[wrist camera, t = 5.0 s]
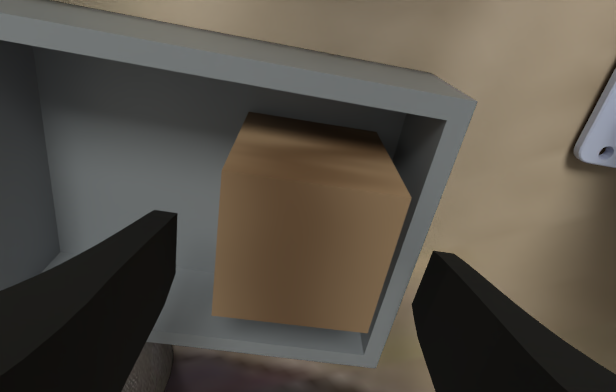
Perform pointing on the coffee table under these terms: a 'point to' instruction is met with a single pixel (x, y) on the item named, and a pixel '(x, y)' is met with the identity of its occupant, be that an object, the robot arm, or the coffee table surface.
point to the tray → (192, 152)
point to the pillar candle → (151, 369)
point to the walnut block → (306, 224)
